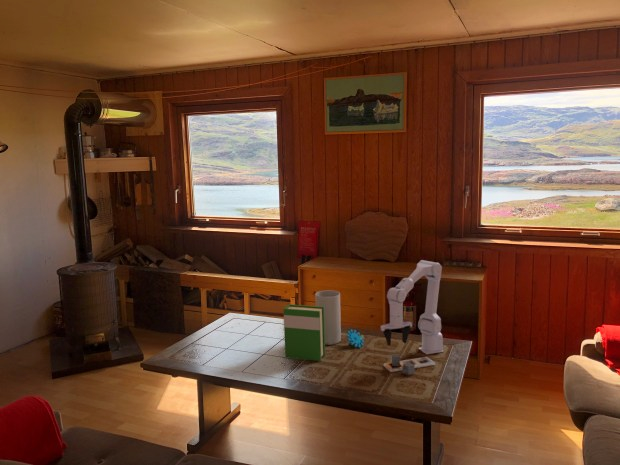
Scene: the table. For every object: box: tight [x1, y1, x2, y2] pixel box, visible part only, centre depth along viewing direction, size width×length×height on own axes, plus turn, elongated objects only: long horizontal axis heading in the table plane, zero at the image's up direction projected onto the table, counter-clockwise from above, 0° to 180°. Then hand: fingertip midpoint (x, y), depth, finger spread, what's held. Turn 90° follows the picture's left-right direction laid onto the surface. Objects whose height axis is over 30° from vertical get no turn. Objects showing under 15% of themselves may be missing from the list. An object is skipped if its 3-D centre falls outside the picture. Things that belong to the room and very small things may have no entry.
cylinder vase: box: [314, 289, 342, 346], centre depth 262 cm, size 12×12×25 cm
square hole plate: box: [383, 356, 436, 373], centre depth 230 cm, size 22×7×1 cm, turn 107°
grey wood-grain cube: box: [402, 362, 415, 376], centre depth 222 cm, size 4×4×4 cm
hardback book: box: [283, 304, 326, 362], centre depth 243 cm, size 18×7×24 cm, turn 71°
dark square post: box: [390, 353, 401, 368], centre depth 228 cm, size 4×4×6 cm
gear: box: [346, 329, 365, 348], centre depth 257 cm, size 11×6×10 cm
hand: (396, 343), depth 229 cm, fingers open, 7 cm apart
